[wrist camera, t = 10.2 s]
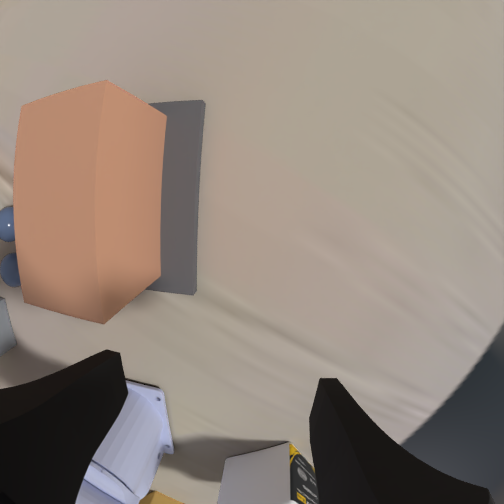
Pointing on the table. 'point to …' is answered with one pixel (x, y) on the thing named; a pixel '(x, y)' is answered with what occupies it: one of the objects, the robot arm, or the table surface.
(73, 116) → the salmon rectangular prism
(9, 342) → the grey rectangular block
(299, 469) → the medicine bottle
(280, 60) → the table surface
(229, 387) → the table surface
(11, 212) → the marble
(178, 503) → the rubber stamp
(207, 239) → the table surface
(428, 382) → the table surface
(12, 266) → the marble
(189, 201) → the charcoal mat
